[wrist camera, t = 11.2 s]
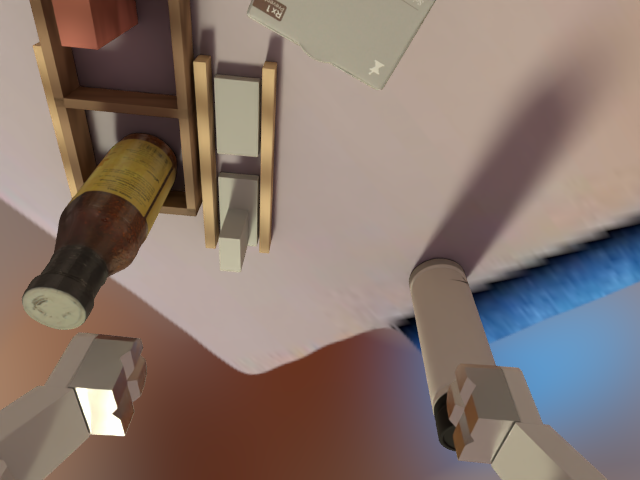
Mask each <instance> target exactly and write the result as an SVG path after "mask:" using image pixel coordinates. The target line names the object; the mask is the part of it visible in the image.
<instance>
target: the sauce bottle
mask: <svg viewBox="0 0 640 480" xmlns="http://www.w3.org/2000/svg"><path fill="white" fill-rule="evenodd" d="M176 172H177V163H176V157H175V155H174V153H173V151H172V150H171V149H170V148H169V146H167V145H166V144H165V143H164V142H163V141H162V140H161V139H159V138H157V137H155V136H152V135H150V134H144V133H134V134H130V135H128V136H126V137H125V138H123V139H122V140H121V141H120V142H118V143H117V144H115V145H114V146H113V147H112V148H111V149H110V151H109V152H108V153H107V155H106V156H105V157H104V159H103V160H102V161H101V162H100V164H99V165H98V166H97V168H96V169H95V170H94V171H93V173H92V174H91V175H90V176H89V177H88V179H87V181H86V182H85V183H84V185H82V187H81V188H80V190H79V191H78V192H77V194H76V195H75V196H74V197H73V198H72V200H71V201H70V202H69V204H68V205H67V207H66V208H65V209H64V211H63V213H62V214H61V217H60V220H59V226H58V233H57V239H56V245H55V250H54V254H53V256H52V258H51V260H50V262H49V263H48V265H47V266H46V268H45V269H44V270H43V272H42V273H41V275H39V276H37V277H35V278H34V279H33V280H32V281H31V283H30V284H29V286H28V288H27V289H26V291H25V292H24V295H23V297H22V304H23V306H24V310H25V311H26V313H27V314H28V315H29V316H30V317H31V318H33V319H34V320H36V321H38V322H39V323H41V324H44V325H46V326H49V327H52V328H55V329H63V330H68V329H73V328H77V327H79V326H80V325H82V324H83V323H84V322H85V321H86V319H87V317H88V316H89V314H90V312H91V310H92V309H93V306H94V298H95V296H96V295H97V293H98V291H99V289H100V288H101V286H102V285H103V284H104V283H105V281H106V279H107V277H109V276H110V275H113V274H115V273H117V272H119V271H121V270H123V269H125V268H126V267H128V266H129V265H130V264H131V263H132V261H133V260H134V258H135V257H136V255H137V253H138V250H139V248H140V246H141V244H142V243H143V242H144V241H145V240H146V238H147V236H148V234H149V232H150V230H151V228H152V226H153V224H154V222H155V220H156V218H157V216H158V214H159V212H160V209H161V207H162V205H163V203H164V201H165V199H166V197H167V195H168V193H169V191H170V189H171V187H172V185H173V183H174V181H175V178H176Z"/></svg>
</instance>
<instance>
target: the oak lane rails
mask: <svg viewBox="0 0 640 480" xmlns="http://www.w3.org/2000/svg"><path fill="white" fill-rule="evenodd" d="M33 48H34V52H35V56H36V60H37V64H38V68H39V72H40V76H41V79H42V83H43V87H44V91H45V95H46V99H47V103H48V107H49V110H50V114H51V118H52V122H53V126H54V130H55V134H56V138H57V141H58V145H59V149H60V153H61V157H62V161H63V165H64V169H65V172H66V176H67V180H68V184H69V188H70V192H71V196H72V198H73V197H74V196H75V195H76V194H77V189H76V185H75V181H74V177H73V173H72V169H71V165H70V161H69V157H68V153H67V149H66V145H65V141H64V137H63V133H62V129H61V125H60V121H59V117H58V113H57V109H56V105H55V101H54V97H53V93H52V89H51V85H50V81H49V77H48V73H47V69H46V64H45V60H44V56H43V52H42V48H41V44H40V42H39V43H37V44H35V45H33ZM193 66H194V81H195V95H196V110H197V125H198V140H199V154H200V169H201V184H202V199H203V214H204V228H205V243H206V248H214V249H215V248H216V245H217V242H218V239H219V222H218V200H217V178H216V156H215V134H214V113H213V91H212V69H211V56H207V55H198V56H197V58H196V59H195V60H194V61H193ZM276 82H277V62H267V61H265V63H264V66H263V68H262V122H261V182H260V242H259V252H260V253H269V250H270V244H271V226H272V198H273V169H274V140H275V111H276Z"/></svg>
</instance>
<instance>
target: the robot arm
mask: <svg viewBox="0 0 640 480" xmlns="http://www.w3.org/2000/svg"><path fill="white" fill-rule="evenodd" d="M142 349H143V345H142V341H141V339H139V338H131V337H121V336H111V335H102V334H91V333H78V334H77V335H75V336H74V337H73V338H72V340H71V342H70V343H69V345H68V347H67V348H66V350H65V352H64V353H63V355H62V357H61V358H60V360H59V362H58V364H57V365H56V367H55V368H54V370H53V372H52V373H51V375H50V377H49V378H48V380H47V382H46V383H45V385H44V386H37V387H35V388H34V389H32V390H31V391H29V392H28V393H26V394H25V395H23V396H21V397H20V398H19V399H17V400H16V401H14V402H12V403H11V404H9V405H8V406H6V407H5V408H3V409H2V410H0V480H44V479H45V478H46V477H47V476H48V475H49V474H50V473H51V472H52V471H53V470H54V469H55V468H56V467H58V466H59V464H61V463H62V462H63V461H64V460H65V459H66V458H67V457H68V456H69V455H70V454H71V453H72V452H74V451H75V450H76V449H77V448H78V447H79V446H80V445H81V444H82V443H83V442H84V441H85V440H86V439H87V438H88V437H90V435H89V434H96V435H97V434H98V435H118V436H125V434H126V432H127V429H128V427H129V424H130V422H131V419H132V416H133V414H134V409H133V403H132V402H134V401H135V400H136V399H137V398H139V397H140V396H141V393H142V391H143V388H144V385H145V380H146V375H147V366H146V360H145V359H144V358H143V357H142V356H141V355H140V354H141V352H142ZM455 376H456V380H455V381H453V382H452V383H450V386H449V389H448V392H447V412H448V417H449V420H450V421H451V422H452V423H453V425H454V426H455V427H456V429H455V431H454V433H453V440H454V445H455V449H456V453H457V458H458V460H459V461H469V462H480V463H489V464H491V466H492V467H493V469H494V470H495V471H496V473H497V474H498V475H499V477H500V478H501V479H502V480H607V479H606V478H605V477H604V476H603V475H602V474H601V473H600V472H599V471H598V470H597V469H596V468H595V467H593V466H592V465H591V464H590V463H589V462H588V461H587V460H586V459H585V458H584V457H583V456H582V455H581V454H580V453H579V452H577V451H576V450H575V449H574V448H573V447H572V446H571V445H570V444H569V443H568V442H567V441H566V440H564V439H563V438H562V437H561V436H560V435H559V434H558V433H557V432H556V431H555V430H554V429H553V428H552V427H551V426H550V425H545V424H543V423H542V420H541V418H540V415H539V413H538V410H537V408H536V406H535V403H534V400H533V398H532V396H531V393H530V390H529V388H528V385H527V383H526V380H525V378H524V375H523V373H522V371H521V370H520V369H519V368H514V367H501V366H493V365H478V364H463V363H460V364H459V365H458V366H457V368H456V371H455Z"/></svg>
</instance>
